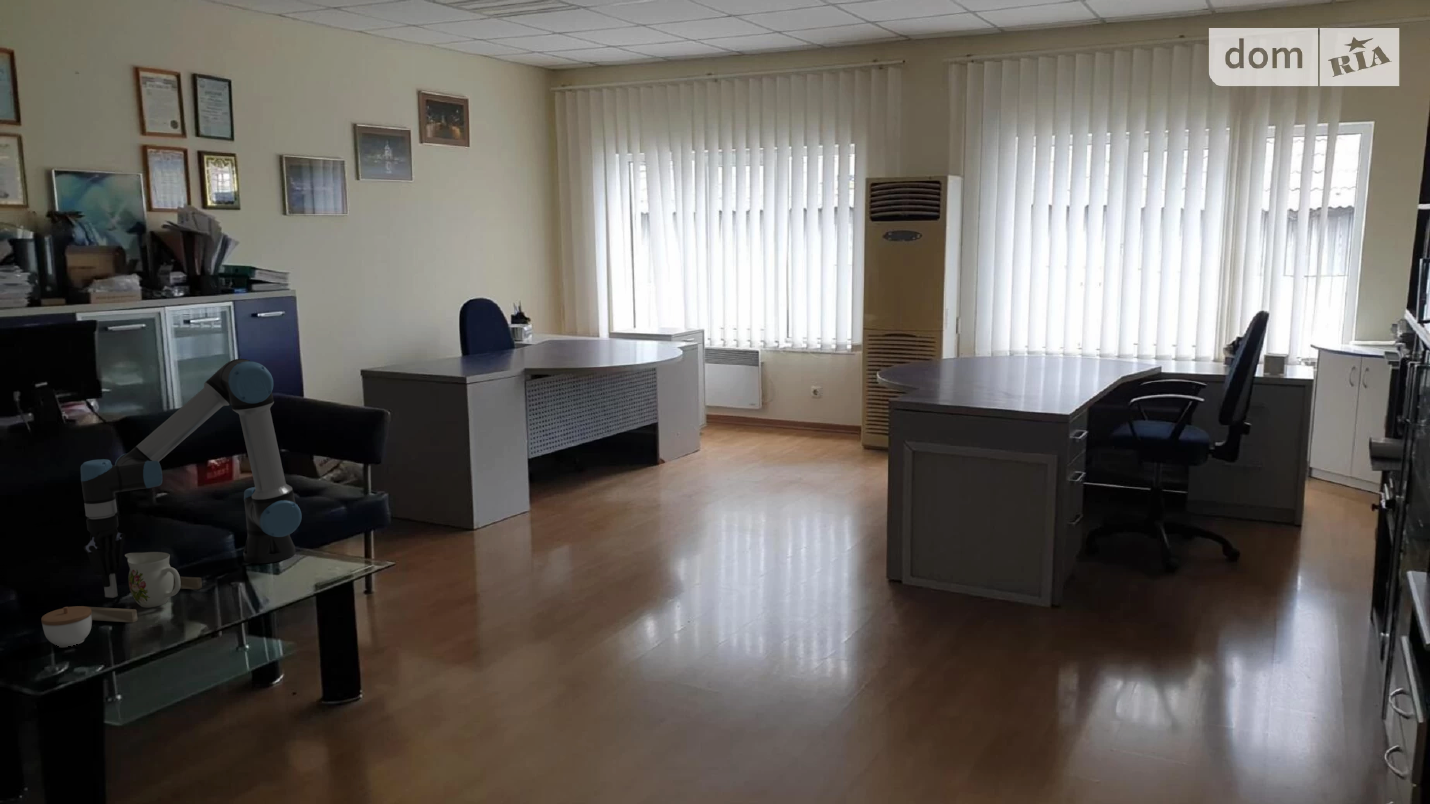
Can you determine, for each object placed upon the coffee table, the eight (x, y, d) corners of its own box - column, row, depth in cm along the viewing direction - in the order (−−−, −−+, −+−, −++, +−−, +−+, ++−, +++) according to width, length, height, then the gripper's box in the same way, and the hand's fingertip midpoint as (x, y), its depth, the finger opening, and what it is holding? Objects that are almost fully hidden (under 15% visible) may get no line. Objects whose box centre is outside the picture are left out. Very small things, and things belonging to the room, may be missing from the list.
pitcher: (165, 613, 275) (160, 565, 273) (114, 607, 281) (109, 559, 278) (197, 599, 285) (192, 552, 283) (147, 593, 291) (142, 547, 289)
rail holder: (157, 585, 298) (155, 575, 298) (202, 587, 296) (201, 577, 295) (84, 619, 272) (82, 608, 271) (133, 622, 269) (131, 611, 269)
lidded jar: (40, 654, 249) (36, 618, 248) (49, 638, 259) (44, 603, 258) (91, 646, 254) (86, 611, 252) (97, 631, 263) (93, 597, 262)
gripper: (107, 508, 289) (117, 587, 293) (71, 521, 276) (81, 603, 280) (130, 509, 287) (140, 589, 291) (95, 522, 275) (105, 605, 279)
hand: (111, 596), depth 286 cm, fingers closed
